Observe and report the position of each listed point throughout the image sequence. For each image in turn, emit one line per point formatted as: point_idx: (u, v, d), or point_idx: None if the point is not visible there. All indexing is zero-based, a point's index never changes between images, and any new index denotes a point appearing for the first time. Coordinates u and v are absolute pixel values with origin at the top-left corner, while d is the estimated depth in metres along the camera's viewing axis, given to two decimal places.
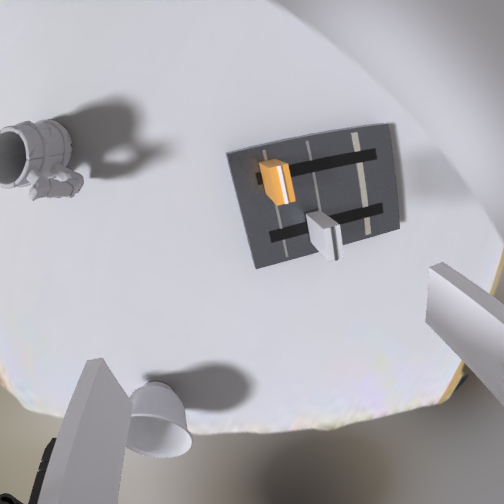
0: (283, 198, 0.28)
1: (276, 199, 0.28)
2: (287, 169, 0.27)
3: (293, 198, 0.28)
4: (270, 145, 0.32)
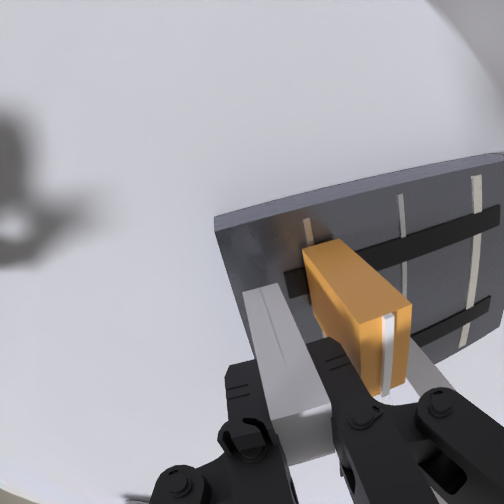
0: (380, 386, 0.09)
1: None
2: (407, 319, 0.08)
3: (401, 379, 0.09)
4: (322, 207, 0.13)
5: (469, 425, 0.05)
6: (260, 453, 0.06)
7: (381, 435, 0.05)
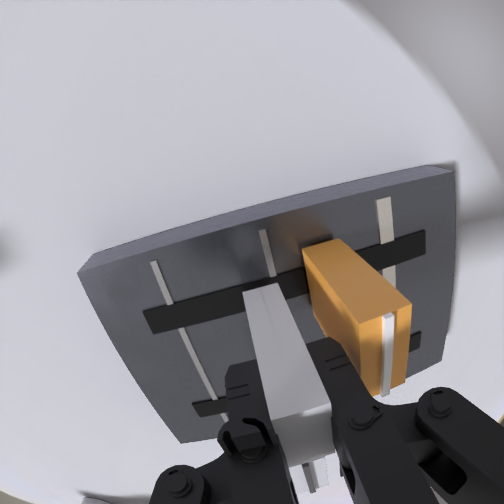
0: (380, 386, 0.09)
1: None
2: (406, 319, 0.08)
3: (401, 378, 0.09)
4: (168, 249, 0.13)
5: (469, 425, 0.05)
6: (260, 453, 0.06)
7: (381, 435, 0.05)
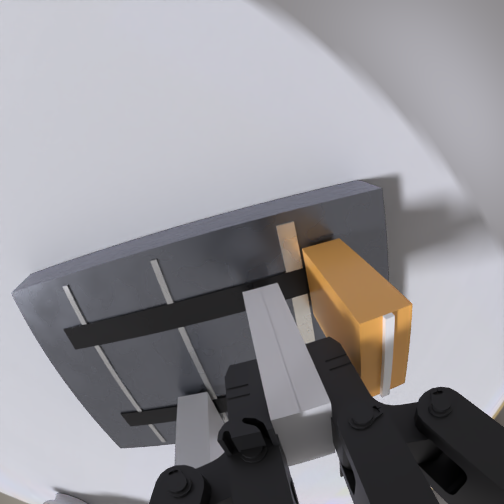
0: (379, 386, 0.09)
1: None
2: (407, 319, 0.08)
3: (401, 379, 0.09)
4: (75, 276, 0.13)
5: (469, 425, 0.05)
6: (260, 453, 0.06)
7: (381, 435, 0.05)
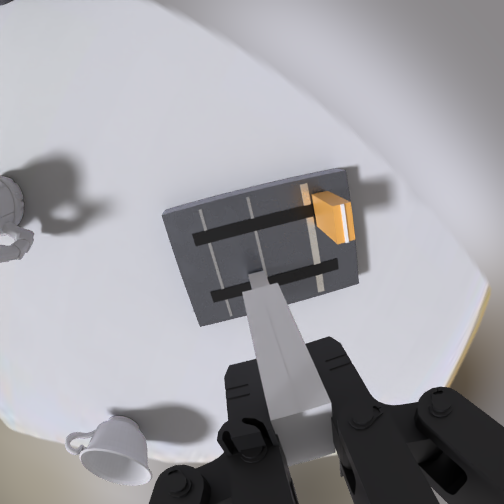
0: (344, 237, 0.27)
1: (337, 238, 0.27)
2: (349, 208, 0.26)
3: (353, 237, 0.27)
4: (207, 204, 0.31)
5: (469, 425, 0.05)
6: (260, 453, 0.06)
7: (381, 435, 0.05)
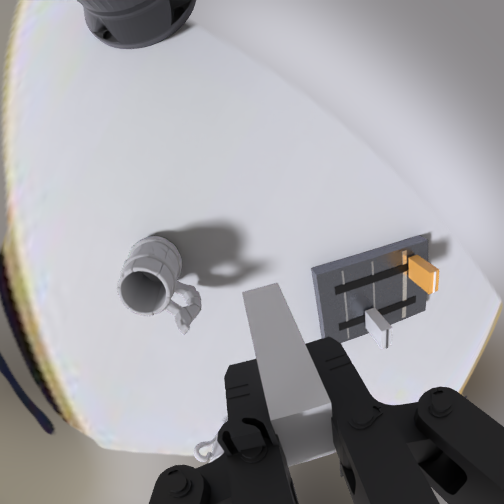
0: (432, 289, 0.40)
1: (429, 290, 0.40)
2: (438, 273, 0.39)
3: (437, 289, 0.40)
4: (347, 267, 0.44)
5: (469, 425, 0.05)
6: (260, 453, 0.06)
7: (381, 435, 0.05)
